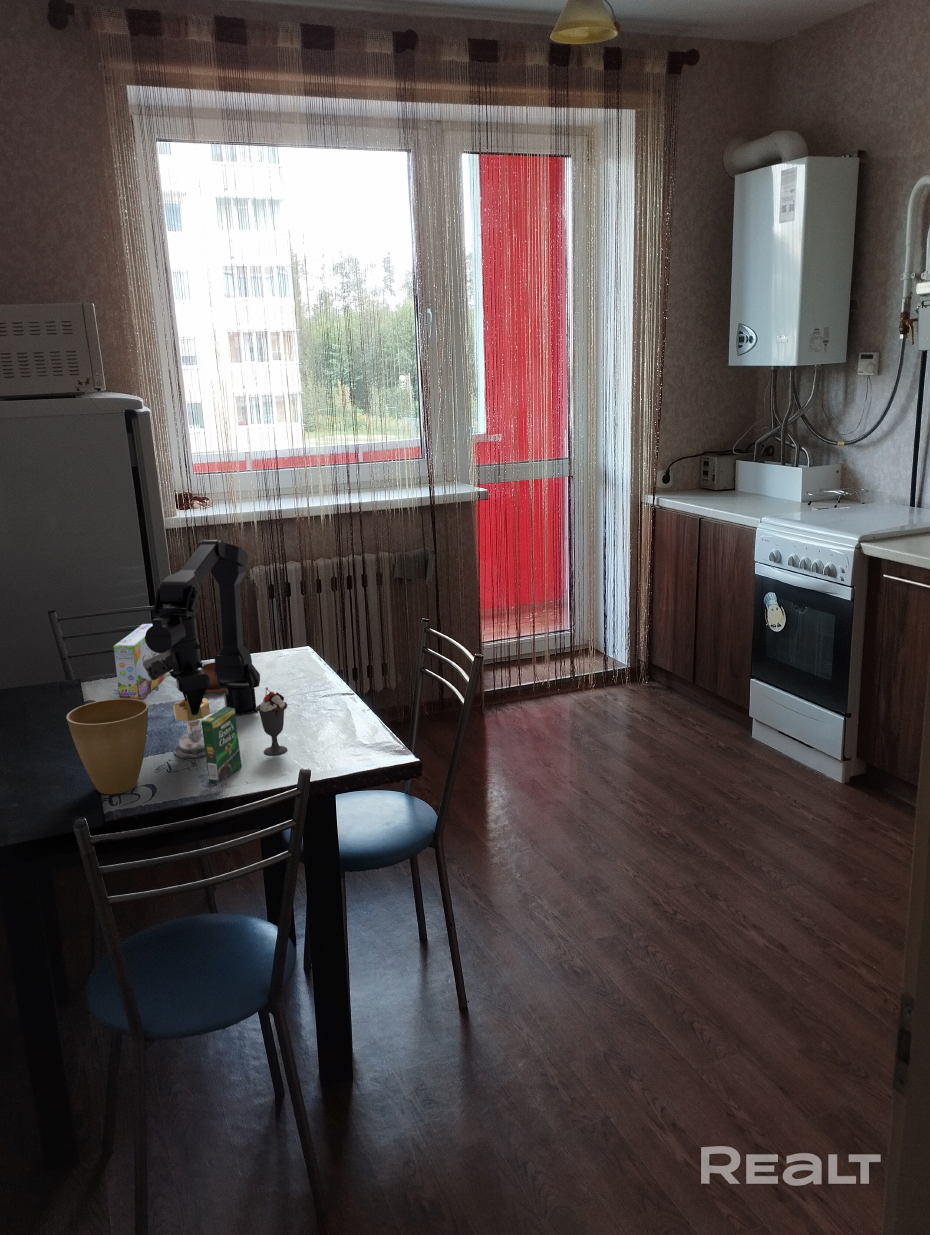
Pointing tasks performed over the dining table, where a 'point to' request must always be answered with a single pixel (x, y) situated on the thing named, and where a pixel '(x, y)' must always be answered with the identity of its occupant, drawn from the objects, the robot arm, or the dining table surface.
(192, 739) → the silver flanged knob
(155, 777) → the dining table surface
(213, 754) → the coffee box
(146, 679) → the snack box
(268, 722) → the sundae
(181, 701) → the ring
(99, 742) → the plant pot
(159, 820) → the dining table surface
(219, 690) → the cup and saucer
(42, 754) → the dining table surface
